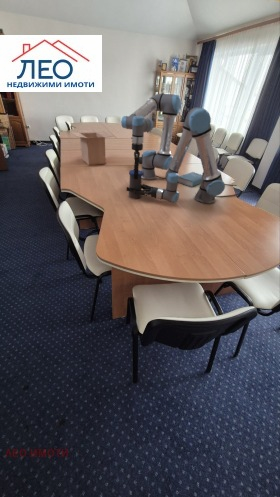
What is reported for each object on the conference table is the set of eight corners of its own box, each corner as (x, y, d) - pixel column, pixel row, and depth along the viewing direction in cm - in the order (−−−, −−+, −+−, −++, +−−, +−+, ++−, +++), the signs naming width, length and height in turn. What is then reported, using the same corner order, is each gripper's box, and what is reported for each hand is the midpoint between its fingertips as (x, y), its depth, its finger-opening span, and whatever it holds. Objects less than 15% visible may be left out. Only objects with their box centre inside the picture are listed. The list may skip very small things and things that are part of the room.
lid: (145, 174, 160) (145, 172, 159) (136, 177, 154) (136, 175, 153) (135, 171, 165) (135, 168, 164) (126, 173, 159) (126, 171, 158)
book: (191, 177, 214) (192, 171, 211) (206, 182, 205) (207, 176, 202) (177, 181, 200) (178, 176, 197) (192, 187, 191) (193, 181, 188)
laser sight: (156, 166, 236) (157, 156, 230) (135, 163, 239) (136, 153, 233) (157, 163, 244) (158, 154, 238) (137, 161, 247) (138, 151, 241)
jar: (129, 198, 165) (129, 174, 155) (129, 193, 172) (129, 170, 162) (140, 198, 166) (142, 175, 155) (140, 194, 173) (141, 171, 163)
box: (116, 165, 229) (116, 136, 213) (83, 168, 214) (80, 137, 198) (102, 154, 259) (101, 128, 243) (71, 156, 244) (68, 129, 228)
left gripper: (131, 139, 156) (130, 171, 169) (131, 146, 138) (130, 181, 151) (142, 140, 156) (140, 171, 169) (143, 147, 138) (141, 182, 151)
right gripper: (151, 203, 154) (123, 196, 161) (161, 193, 170) (135, 187, 177) (152, 193, 150) (123, 186, 156) (163, 183, 166) (136, 177, 173)
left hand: (135, 176), depth 160 cm, fingers closed on lid, 10 cm apart
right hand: (129, 186), depth 167 cm, fingers closed on jar, 9 cm apart
